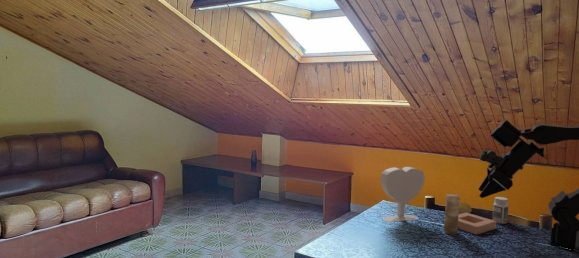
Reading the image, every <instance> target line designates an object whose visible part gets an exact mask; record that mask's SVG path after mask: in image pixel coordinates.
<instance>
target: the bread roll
mask: <svg viewBox="0 0 579 258" xmlns="http://www.w3.org/2000/svg"><path fill="white" fill-rule="evenodd" d="M445 207H446V205H445ZM472 211H473V210H472V207H471V205H470V204H469V203H468V202H466V201H464V200H460V201H459V214H462V213H470V214H472Z"/></svg>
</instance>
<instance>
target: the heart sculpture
mask: <svg viewBox="0 0 579 258" xmlns="http://www.w3.org/2000/svg"><path fill="white" fill-rule="evenodd" d="M425 177H426V176H425V173H424V171H423V170H422V169H421V170H420V169H419V168H415V167H412V166H404V167H402V168H398V167H394V166H393V167H389V168H387V169H384V170H383V171H382V172H381V174H380V186H381V188H382V190H383V192H384V193H385V194H386V196H388V197H389V198H390V199H392V200H394V201H395V202H397V215H391V216H384V217H383V218H382V220H383V219H384V220H383V221H386V222H389V223H394V222H403V221H413V220H414V221H415V220H419V217H418V216H416V215H412V214H405V207H406V205H407V204H408V203H409V202H411V201H412V200H413V199H415V198H416V197H417V195H419V194H420V192H421V191H422V189H423V188H424V183H425Z"/></svg>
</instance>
